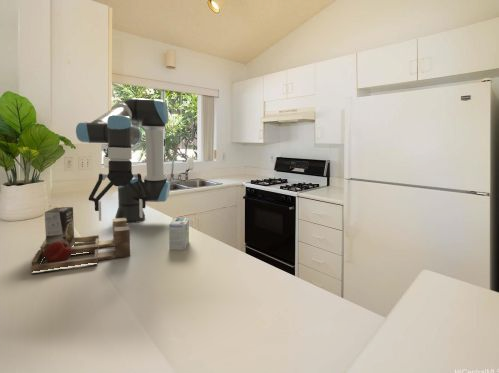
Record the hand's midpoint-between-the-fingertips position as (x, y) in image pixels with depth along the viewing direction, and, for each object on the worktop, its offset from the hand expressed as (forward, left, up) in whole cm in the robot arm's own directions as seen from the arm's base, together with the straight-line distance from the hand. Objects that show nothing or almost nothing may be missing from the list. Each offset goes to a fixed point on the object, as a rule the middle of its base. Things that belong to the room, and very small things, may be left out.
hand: (121, 218), depth 102 cm
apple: (+20, 0, -15) cm, 25 cm away
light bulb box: (-22, -3, -15) cm, 27 cm away
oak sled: (+12, -14, -14) cm, 23 cm away
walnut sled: (+12, 0, -14) cm, 18 cm away
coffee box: (+20, -14, -15) cm, 29 cm away
